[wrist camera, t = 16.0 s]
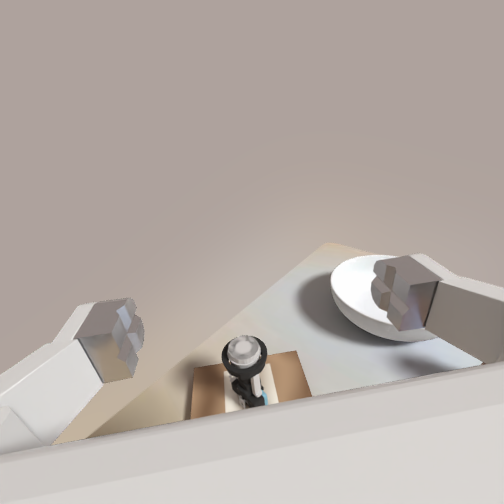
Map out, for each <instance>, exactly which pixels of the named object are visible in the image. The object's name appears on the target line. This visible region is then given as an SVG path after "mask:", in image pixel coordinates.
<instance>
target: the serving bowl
mask: <svg viewBox="0 0 504 504" xmlns="http://www.w3.org/2000/svg"><path fill="white" fill-rule="evenodd" d="M390 258H396V256H388V255H366V256H359V257H355V258H351V259H348V260H346V261H344V262H342V263H341V264H339V265H338V266H337V267H336V268H335V269H334V270H333V272H332V274H331V277H330V286H331V292H332V296H333V298H334V301H335V303H336V305H337V306H338V308H339V309H340V311H341V312H342V313H343V314H344V315H345V316H346V317H347V318H348V319H349V320H350V321H351V322H353V323H354V324H355V325H357V326H358V327H360V328H362V329H363V330H365V331H367V332H369V333H371V334H374V335H376V336H379V337H382V338H386V339H390V340H395V341H404V342H418V341H426V340H431V339H435V338H438V336H436V335H434V334H432V333H430V332H429V331H427V330H425V328H421V329H414V330H407V331H400V332H399V331H398V330H397V329H396V328H395V326H394V325H393V324H392V323H391V322H390V321H389V319H388V318H387V312H386V311H384V310H382V309H380V308H378V306H377V305H376V304H375V302H374V300H373V298H372V295H371V282H372V281H373V279H374V278H375V277H376V275H375V273H374V272H373V269H374V264H375V263H376V261H378V260H384V259H390Z"/></svg>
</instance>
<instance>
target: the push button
mask: <svg viewBox="0 0 504 504" xmlns="http://www.w3.org/2000/svg"><path fill="white" fill-rule="evenodd" d="M260 354H261V355H262V356H261V358H260ZM266 359H267V348H266V346H265V344H264V343H263V342H262V341H261V340H260V339H258V338H256V337H253V336H245V335H242V336H239V337H236V338H234V339H233V340H231V341H230V342H228V343H227V344H226V346H225V347H224V349H223V351H222V362H223V365H224V366H225V368H226V369H227V371H228V373H229V374H230V375H229V377H230V378H231V379H230V382H231V385H232V389H233V391H234V392H235V393H237V395H238V396H239V401H240V404H241V405H242V406H243V408H244V409H246V407H245V403H246V404H247V405H248V406H249V407H250V408H254V407H259V406H264V405H268V399H267V395H266V393H265V392H264V391H263V390H264V387H263V386H262V385H261V379H260V377H259V373H261V372H262V370H263V369H264V367H265V362H266ZM229 360H230V363H231V364H230V363H229ZM232 376H234V377H233V378H232ZM232 381H233V382H232Z"/></svg>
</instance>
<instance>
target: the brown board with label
mask: <svg viewBox="0 0 504 504" xmlns="http://www.w3.org/2000/svg"><path fill="white" fill-rule="evenodd" d="M260 358H261V357H260ZM229 363H230V362H229ZM230 364H231V363H230ZM229 375H230V374H229V373H228V371H227V369H226V368H225V366H224V365H223V363H221V364H215V365H210V366H204V367H198V368H194V377H193V391H192V405H191V419H195V418H200V417H205V416H211V415H216V414H221V413H227V412H232V411H238V410H243V409H244V408H243V406H242V405H241V404H240V401H239V396H238V395H237V393H235V392H234V391H233V389H232V385H231V382H230V379H231V378H230V377H229ZM233 377H234V376H232V378H233ZM259 377H260V379H261V385H262V386H263V387H264V390H263V391H264V392H265V393H266V395H267V399H268V405H270V404H275V403H280V402H286V401H291V400H297V399H302V398H307V397H312V395H311V392H310V389H309V386H308V383H307V380H306V377H305V375H304V372H303V369H302V366H301V363H300V360H299V357H298V355H297V352H296V351H291V352H285V353H279V354H273V355H268V356H267V359H266V362H265V367H264V369H263V370H262V372H261V373H259ZM232 382H233V381H232ZM245 407H246V409H248V408H250V407H249V406H248V405H247V404H246V403H245Z"/></svg>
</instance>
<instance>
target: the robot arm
mask: <svg viewBox="0 0 504 504" xmlns="http://www.w3.org/2000/svg"><path fill="white" fill-rule="evenodd" d="M373 272H374V273H375V275H376V277H375V278H374V279H373V281H372V282H371V295H372V298H373V300H374V302H375V304H376V305H377V306H378V308H380V309H382V310H384V311H386V312H387V318H388V319H389V321H390V322H391V323H392V324H393V325H394V326H395V328H396V329H397V330H398V331H399V332H400V331H407V330H414V329H421V328H425V330H427V331H429V332H430V333H432V334H434V335H436V336H438V337H439V338H441V339H443V340H445V341H447V342H448V343H450V344H452V345H454V346H455V347H457V348H459V349H461V350H463V351H464V352H466V353H468V354H470V355H471V356H473V357H475V358H477V359H479V360H480V361H482V362H484V363H486V364H484V365H479V366H473V367H468V368H463V369H457V370H452V371H446V372H441V373H436V374H430V375H425V376H420V377H414V378H409V379H404V380H398V381H393V382H388V383H382V384H377V385H372V386H366V387H361V388H356V389H350V390H345V391H339V392H334V393H329V394H323V395H318V396H313V397H307V398H302V399H297V400H291V401H286V402H280V403H275V404H270V405H264V406H259V407H254V408H248V409H243V410H238V411H232V412H227V413H221V414H216V415H211V416H205V417H200V418H195V419H189V420H184V421H179V422H173V423H168V424H163V425H157V426H152V427H147V428H141V429H136V430H130V431H125V432H120V433H114V434H109V435H104V436H98V437H93V438H88V439H82V440H77V441H72V442H67V443H61V444H56V445H51V444H52V443H53V442H54V441H55V440H56V439H57V438H58V436H59V435H60V434H61V433H62V432H63V431H64V430H65V428H66V427H67V426H68V425H69V424H70V422H72V420H73V419H74V418H75V417H76V416H77V415H78V414H79V412H80V411H81V410H82V409H83V408H84V407H85V405H86V404H87V403H88V402H89V401H90V400H91V399H92V398H93V396H94V395H95V394H96V393H97V392H98V391H99V390H100V388H101V387H102V386H103V383H108V382H113V381H118V380H123V379H128V378H132V377H133V375H134V372H135V368H136V365H137V362H138V357H137V354H136V353H137V352H138V351H139V350H140V349H141V348H142V345H143V341H144V327H143V323H142V320H141V318H140V317H138V316H137V315H135V311H136V308H137V307H136V305H135V303H134V300H133V299H131V298H123V299H116V300H109V301H100V302H93V303H86V304H82V305H79V306H78V307H77V308H76V309H75V311H74V312H73V314H72V315H71V316H70V318H69V319H68V321H67V322H66V324H65V325H64V327H63V328H62V329H61V331H60V332H59V334H58V335H57V336H56V338H55V339H54V341H53V342H52V343H49V344H45V345H44V346H42V347H41V348H39V349H38V350H36V351H35V352H33V353H32V354H30V355H29V356H27V357H26V358H25V359H23V360H22V361H20V362H19V363H17V364H16V365H14V366H13V367H11V368H10V369H8V370H7V371H5V372H4V373H2V374H1V375H0V504H504V288H502V287H498V286H494V285H491V284H487V283H484V282H480V281H477V280H473V279H469V278H466V277H461V278H459V277H458V276H456V275H455V274H453V273H452V272H450V271H449V270H447V269H446V268H444V267H443V266H441V265H440V264H438V263H437V262H435V261H434V260H432V259H431V258H429V257H428V256H426V255H425V254H422V253H417V254H411V255H406V256H402V257H396V258H390V259H384V260H378V261H376V263H375V264H374V269H373Z"/></svg>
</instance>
